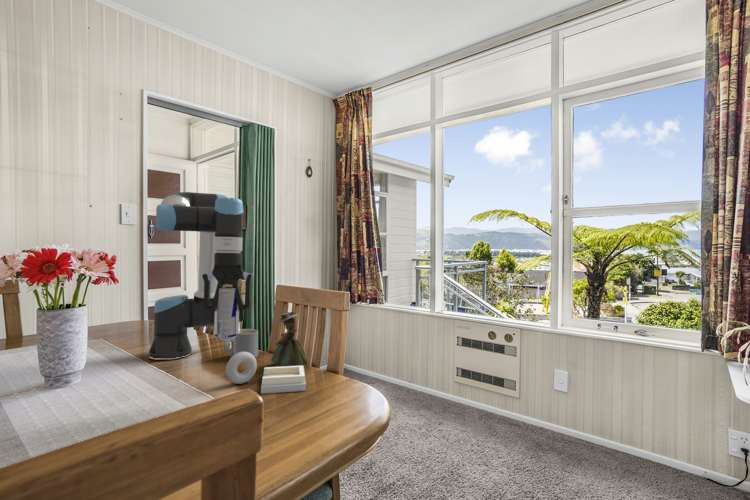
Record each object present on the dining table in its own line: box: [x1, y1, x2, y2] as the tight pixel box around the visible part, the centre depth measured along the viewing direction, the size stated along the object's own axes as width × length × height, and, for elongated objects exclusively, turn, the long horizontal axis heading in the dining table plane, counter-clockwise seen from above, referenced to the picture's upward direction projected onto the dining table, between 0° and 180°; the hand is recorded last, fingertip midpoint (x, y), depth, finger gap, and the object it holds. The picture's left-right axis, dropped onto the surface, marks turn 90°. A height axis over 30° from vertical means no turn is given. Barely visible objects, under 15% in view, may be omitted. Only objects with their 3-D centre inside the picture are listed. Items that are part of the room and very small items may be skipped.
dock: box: [260, 365, 307, 394], centre depth 123 cm, size 16×13×4 cm
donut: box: [225, 352, 258, 385], centre depth 122 cm, size 10×4×10 cm, turn 135°
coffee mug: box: [223, 328, 259, 358], centre depth 151 cm, size 13×10×10 cm
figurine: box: [271, 311, 309, 367], centre depth 141 cm, size 14×14×20 cm
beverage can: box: [217, 286, 238, 342], centre depth 111 cm, size 5×5×15 cm
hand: (227, 332), depth 111 cm, fingers closed on beverage can, 5 cm apart
